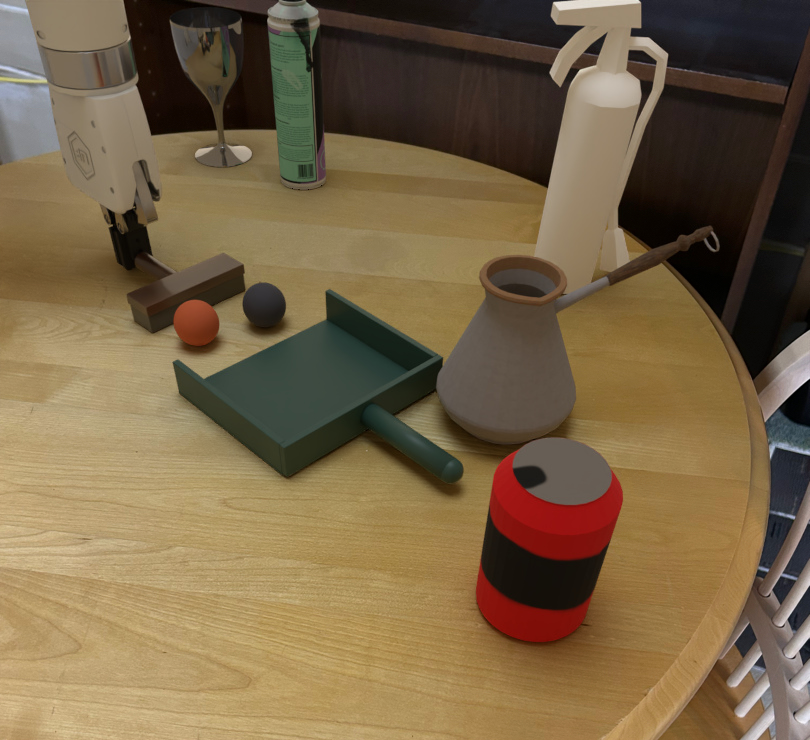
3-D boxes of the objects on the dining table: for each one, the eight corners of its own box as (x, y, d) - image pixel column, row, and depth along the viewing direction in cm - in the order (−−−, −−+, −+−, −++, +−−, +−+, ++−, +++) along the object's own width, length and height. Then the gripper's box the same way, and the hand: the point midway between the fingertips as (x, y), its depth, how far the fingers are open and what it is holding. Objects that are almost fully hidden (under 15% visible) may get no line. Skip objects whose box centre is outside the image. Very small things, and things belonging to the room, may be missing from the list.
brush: (97, 295, 78) (89, 269, 76) (191, 256, 84) (186, 230, 82) (152, 334, 74) (145, 307, 72) (247, 290, 80) (244, 264, 78)
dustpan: (178, 392, 69) (171, 361, 66) (331, 318, 77) (329, 288, 75) (376, 550, 57) (376, 519, 55) (529, 443, 66) (535, 412, 63)
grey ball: (228, 288, 74) (254, 293, 71) (263, 274, 76) (288, 278, 73) (240, 330, 76) (265, 336, 73) (273, 315, 78) (299, 321, 75)
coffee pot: (459, 471, 63) (479, 300, 52) (416, 384, 70) (426, 219, 59) (698, 428, 68) (763, 263, 57) (635, 351, 75) (681, 191, 64)
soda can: (458, 572, 56) (475, 440, 47) (555, 547, 58) (589, 417, 49) (502, 658, 51) (530, 530, 42) (606, 629, 53) (654, 500, 44)
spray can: (335, 180, 97) (329, -16, 82) (302, 194, 94) (289, -6, 80) (304, 166, 100) (292, -27, 85) (271, 179, 97) (253, -17, 82)
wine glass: (178, 160, 100) (154, 21, 88) (213, 137, 105) (194, 3, 93) (234, 173, 98) (217, 32, 87) (267, 149, 103) (254, 13, 92)
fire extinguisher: (636, 295, 82) (715, 10, 63) (519, 297, 81) (564, 8, 62) (619, 262, 86) (687, -14, 68) (508, 263, 85) (546, -16, 67)
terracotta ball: (162, 328, 73) (166, 300, 70) (199, 312, 75) (204, 284, 72) (188, 361, 73) (193, 334, 69) (225, 344, 75) (231, 317, 71)
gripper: (5, 48, 70) (64, 247, 83) (96, 97, 63) (145, 306, 76) (83, 32, 73) (128, 225, 87) (177, 76, 67) (210, 278, 80)
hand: (135, 262), depth 82 cm, fingers closed
